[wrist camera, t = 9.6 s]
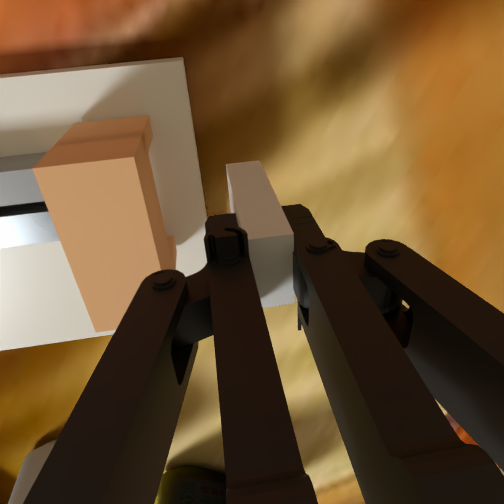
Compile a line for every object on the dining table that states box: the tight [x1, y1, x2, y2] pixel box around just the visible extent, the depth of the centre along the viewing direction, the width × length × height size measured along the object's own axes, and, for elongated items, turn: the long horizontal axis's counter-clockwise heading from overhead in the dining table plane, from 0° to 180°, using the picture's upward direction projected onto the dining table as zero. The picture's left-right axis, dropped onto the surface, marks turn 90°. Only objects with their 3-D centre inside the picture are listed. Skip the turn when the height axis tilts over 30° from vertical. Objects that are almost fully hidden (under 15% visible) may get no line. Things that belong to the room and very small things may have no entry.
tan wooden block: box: [32, 115, 177, 332], centre depth 19 cm, size 4×8×6 cm, turn 4°
